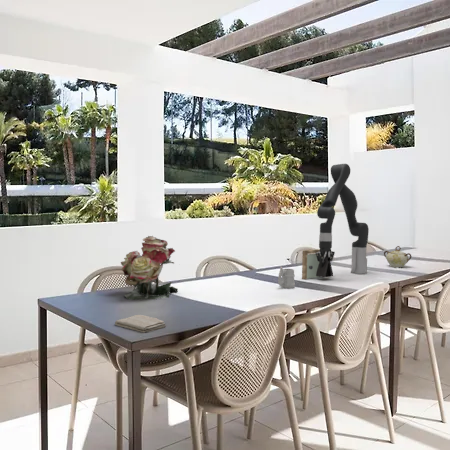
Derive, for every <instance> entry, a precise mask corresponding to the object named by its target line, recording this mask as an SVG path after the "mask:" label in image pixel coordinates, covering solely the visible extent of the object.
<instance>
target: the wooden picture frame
mask: <svg viewBox="0 0 450 450" xmlns="http://www.w3.org/2000/svg"><path fill="white" fill-rule="evenodd" d="M319 250H320V248H317V249H303V250H302V257H301V258H302V260H301V261H302V263H301V264H302V266H301V279H302V280H308V279H307V254H316V252H319Z"/></svg>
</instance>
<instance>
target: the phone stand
mask: <svg viewBox="0 0 450 450" xmlns="http://www.w3.org/2000/svg"><path fill="white" fill-rule="evenodd" d="M330 260H331V258H330V257H325V259H324V266H323V267H322V268H320V262H319V266H318V269H317V273H316V276H319V277H318V278H329V277H334V272H333V267H332V264H331V263H332V261H330Z"/></svg>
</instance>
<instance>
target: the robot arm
mask: <svg viewBox="0 0 450 450" xmlns="http://www.w3.org/2000/svg"><path fill="white" fill-rule="evenodd" d="M330 175H331V178H332V180H333V182H334V184H333V185H332V186H331V187H330V188H329V189H328V191H327V193H326V195H325V199H323V202H322V203H321V204H320V206H319V207H318V208H317V211H316V214H317V217H318V218H319V219H322V220H323V219H326V221H324V222H321V223H320V225H319V237H318V239H319V240H318V247H319V248H318V249H320V250H319V252H316V253H315V254H316V257H317V260H318V261H319V262H320V268H322V267H323V266H324V259H325V257H330V258H331V260H330V262H332V261H333V259H334V257H335V254H336V253H335V251H332V247H333V234H332V232H333V223H334V219H335V217H336V209H335V208H334V207H335V206H336V204H337V201H338V199H339V198H340V201H341V205H342V207H343V210H344V213H345V216H346V220H347V226H348V230H349V233H350V234H351V235H352V236H353V237H357V240H355V241H353V242H352V243H351V268H350V269H351V270H350V273H352V274H355V275H356V274H357V275H365V274H367V273H368V258H367V246H368V241H369V231H370V230H369V225H368V223H366V222H358V220H357V217H356V212H357V209H358V201H357V200H358V199H357V197H356V195H355V193H354V192H353V190H351V188H349V187H348V186H347V185H346V182H347V181H348V180H349V177H350V175H351V167H350V165H349V164H347V163H340V164H339V163H338V164H333V165H331V167H330Z"/></svg>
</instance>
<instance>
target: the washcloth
mask: <svg viewBox="0 0 450 450" xmlns="http://www.w3.org/2000/svg"><path fill="white" fill-rule="evenodd" d="M114 325H115V326H118V327H121V328H125V329H130V330H133V331H136V332H140V333H147V332H148V333H149V332H150V333H151V332H153V331H156V330H160V329H163V328H166V327H167V325H166V323H165V321H164V320H161V319H158V318H157V317H151V316H148V315H142V314H135V315H132V316H129V317H124V318H120V319H117V320H115V322H114Z"/></svg>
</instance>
